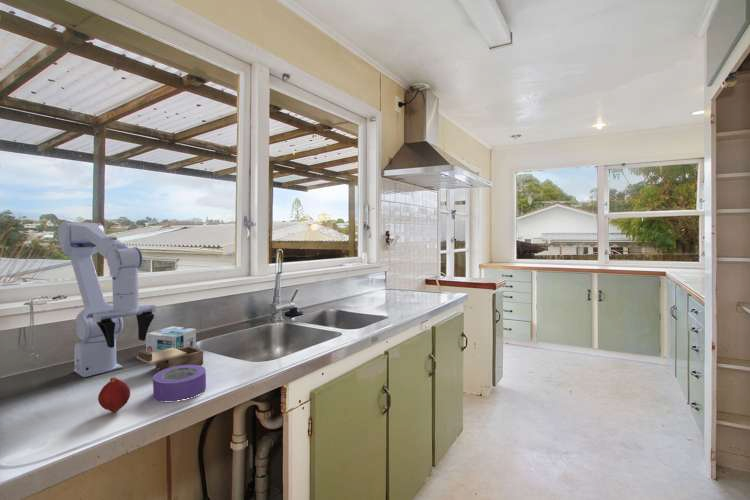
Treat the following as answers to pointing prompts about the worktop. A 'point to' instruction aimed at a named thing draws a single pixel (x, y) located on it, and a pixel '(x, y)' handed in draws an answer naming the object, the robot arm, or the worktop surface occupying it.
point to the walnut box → (183, 359)
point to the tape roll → (179, 382)
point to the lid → (159, 355)
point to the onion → (114, 395)
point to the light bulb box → (170, 339)
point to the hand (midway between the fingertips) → (126, 343)
